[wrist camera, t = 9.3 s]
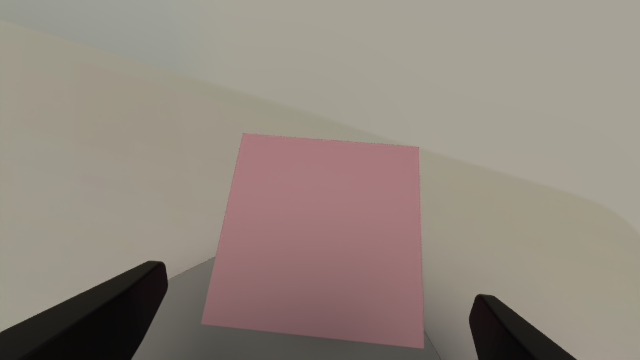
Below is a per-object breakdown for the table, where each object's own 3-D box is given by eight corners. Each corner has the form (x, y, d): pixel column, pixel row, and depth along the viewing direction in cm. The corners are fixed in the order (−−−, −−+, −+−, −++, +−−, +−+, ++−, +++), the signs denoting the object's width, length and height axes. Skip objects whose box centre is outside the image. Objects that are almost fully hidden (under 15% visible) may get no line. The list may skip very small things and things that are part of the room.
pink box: (360, 322, 17) (423, 348, 6) (280, 313, 17) (200, 324, 6) (364, 240, 19) (418, 145, 8) (291, 233, 19) (243, 131, 8)
